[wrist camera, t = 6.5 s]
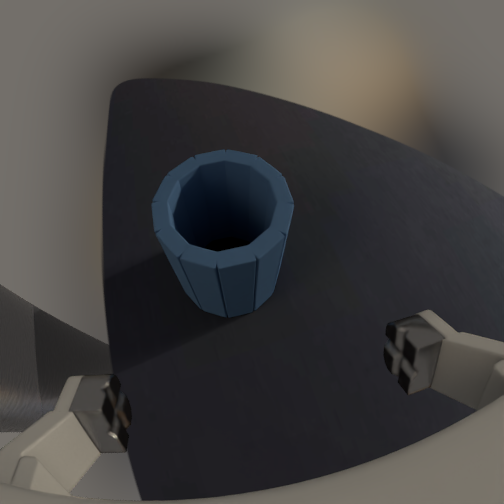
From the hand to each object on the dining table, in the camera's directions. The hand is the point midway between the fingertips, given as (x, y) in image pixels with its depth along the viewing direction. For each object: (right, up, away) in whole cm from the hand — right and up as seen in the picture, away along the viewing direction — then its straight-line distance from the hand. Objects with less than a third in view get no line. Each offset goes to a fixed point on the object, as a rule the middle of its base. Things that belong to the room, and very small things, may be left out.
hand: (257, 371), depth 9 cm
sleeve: (-2, +2, +13) cm, 13 cm away
